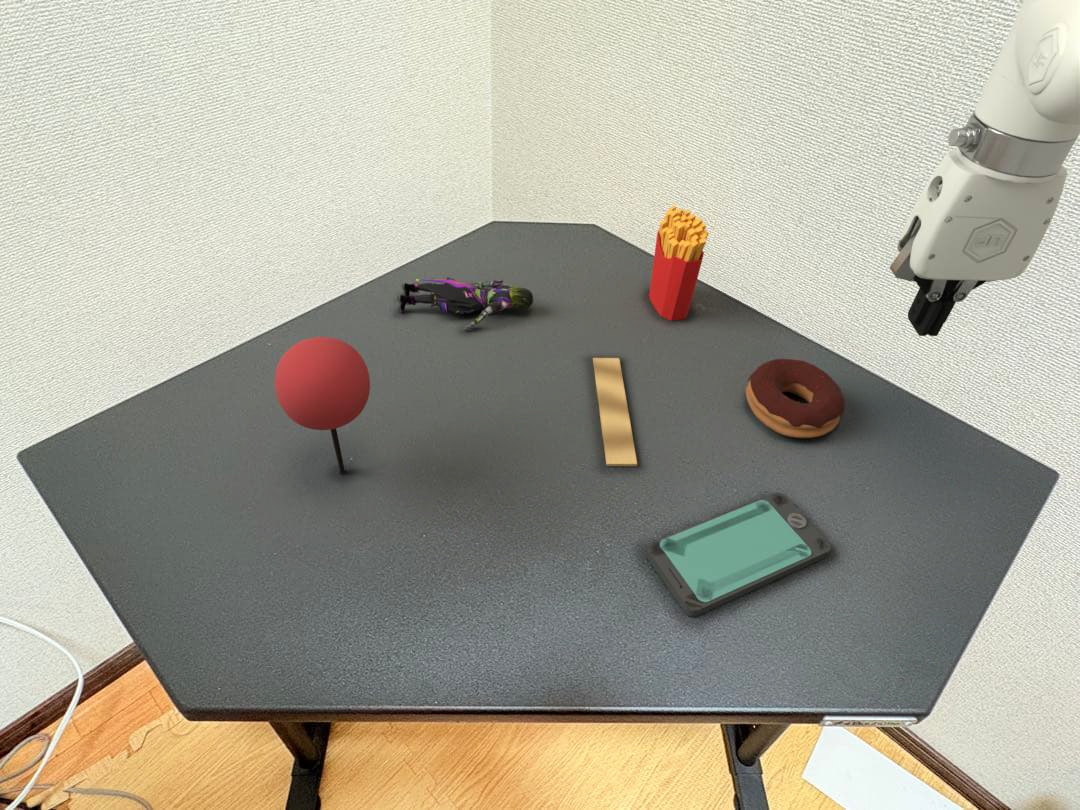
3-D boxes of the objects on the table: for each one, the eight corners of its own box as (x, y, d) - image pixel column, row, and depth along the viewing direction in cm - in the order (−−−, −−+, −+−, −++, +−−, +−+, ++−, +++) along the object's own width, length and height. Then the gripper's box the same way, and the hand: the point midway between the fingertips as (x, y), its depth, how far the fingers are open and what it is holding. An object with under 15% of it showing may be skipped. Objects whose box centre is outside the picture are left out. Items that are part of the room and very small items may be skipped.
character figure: (395, 330, 85) (531, 334, 85) (390, 304, 83) (530, 307, 82) (410, 285, 92) (536, 288, 91) (406, 260, 90) (535, 262, 89)
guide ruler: (636, 466, 71) (637, 463, 70) (606, 466, 71) (606, 463, 70) (619, 360, 82) (619, 357, 82) (592, 360, 82) (593, 357, 82)
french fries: (642, 288, 93) (656, 202, 85) (671, 285, 94) (687, 199, 85) (667, 328, 87) (684, 240, 79) (697, 324, 88) (718, 236, 79)
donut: (846, 449, 73) (860, 421, 71) (748, 439, 74) (758, 411, 71) (828, 383, 81) (839, 355, 78) (739, 374, 81) (747, 347, 78)
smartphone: (834, 547, 63) (692, 611, 58) (830, 555, 64) (689, 619, 59) (779, 487, 68) (643, 542, 63) (776, 496, 69) (641, 550, 64)
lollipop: (386, 496, 67) (365, 373, 57) (300, 508, 66) (263, 384, 55) (381, 437, 72) (361, 315, 62) (302, 447, 71) (268, 324, 61)
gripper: (942, 164, 55) (859, 351, 67) (1133, 168, 55) (1015, 352, 68) (903, 122, 60) (833, 303, 73) (1078, 126, 61) (978, 304, 73)
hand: (921, 326), depth 70 cm, fingers closed
